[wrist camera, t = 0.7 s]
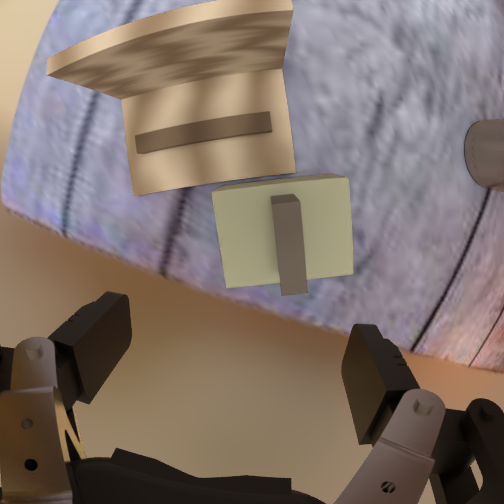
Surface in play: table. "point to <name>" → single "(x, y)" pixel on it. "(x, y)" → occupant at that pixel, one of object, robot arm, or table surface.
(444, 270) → the table surface
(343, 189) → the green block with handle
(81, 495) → the robot arm
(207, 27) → the wooden stand
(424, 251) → the table surface
